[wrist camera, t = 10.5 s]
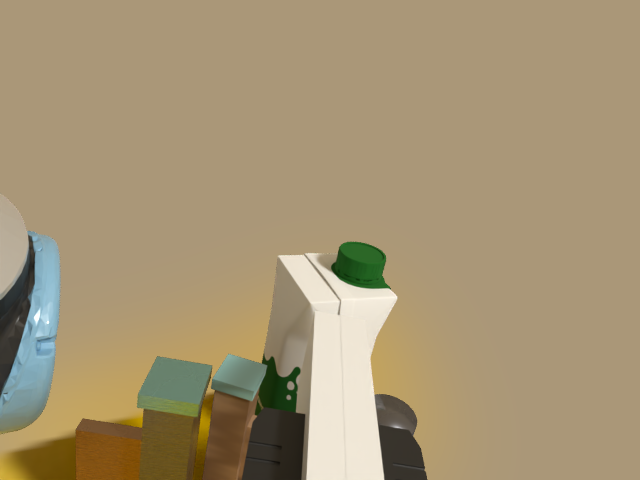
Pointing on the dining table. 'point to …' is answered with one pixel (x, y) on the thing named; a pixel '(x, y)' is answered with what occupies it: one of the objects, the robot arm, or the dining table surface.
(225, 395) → the gate
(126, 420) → the dining table surface
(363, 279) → the milk carton
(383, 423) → the gate posts
